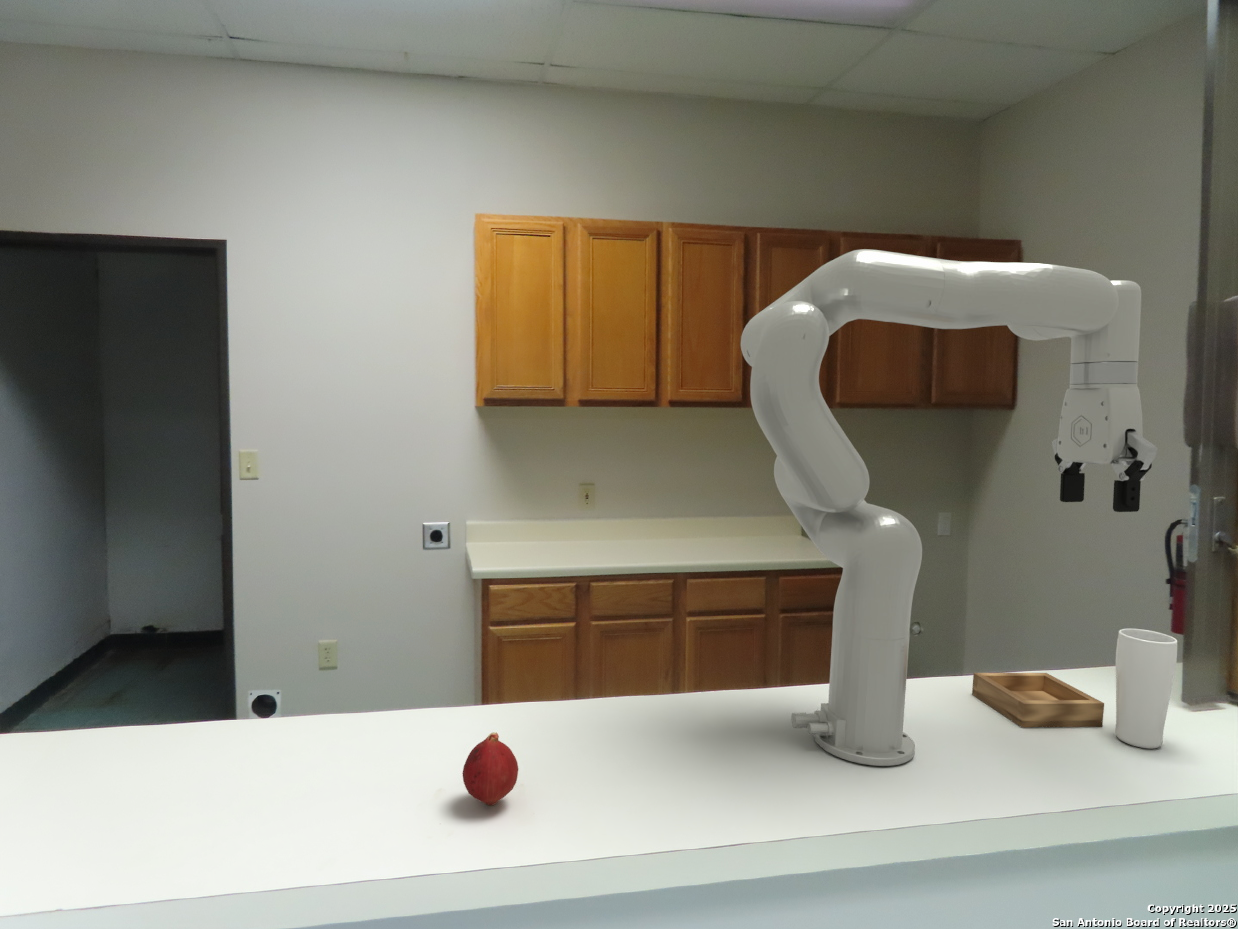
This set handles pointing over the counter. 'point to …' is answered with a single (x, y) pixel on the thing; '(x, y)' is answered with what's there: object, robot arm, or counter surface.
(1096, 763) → the counter surface
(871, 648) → the robot arm
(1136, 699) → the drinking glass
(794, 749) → the counter surface
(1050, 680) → the tray
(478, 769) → the onion
